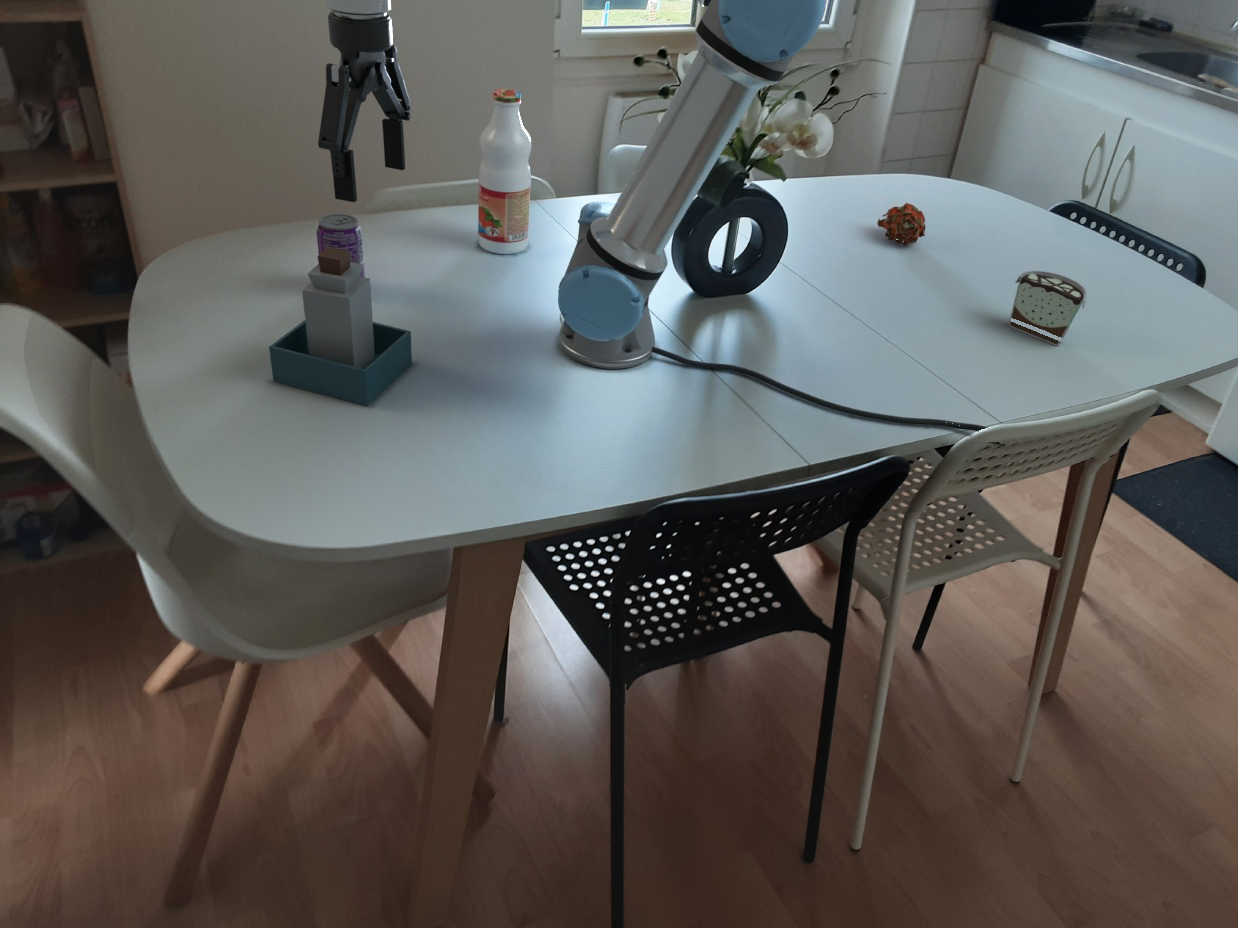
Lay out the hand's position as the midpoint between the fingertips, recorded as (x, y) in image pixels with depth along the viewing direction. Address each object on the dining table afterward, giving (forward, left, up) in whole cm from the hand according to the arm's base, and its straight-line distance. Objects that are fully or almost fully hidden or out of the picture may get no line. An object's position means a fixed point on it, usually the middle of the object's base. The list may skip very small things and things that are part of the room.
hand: (371, 183), depth 130 cm
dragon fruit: (-70, -91, -27) cm, 118 cm away
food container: (-98, -61, -27) cm, 119 cm away
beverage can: (+17, -17, -27) cm, 36 cm away
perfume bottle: (+3, +6, -27) cm, 27 cm away
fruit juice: (+1, -47, -27) cm, 55 cm away
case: (+3, +6, -27) cm, 28 cm away
